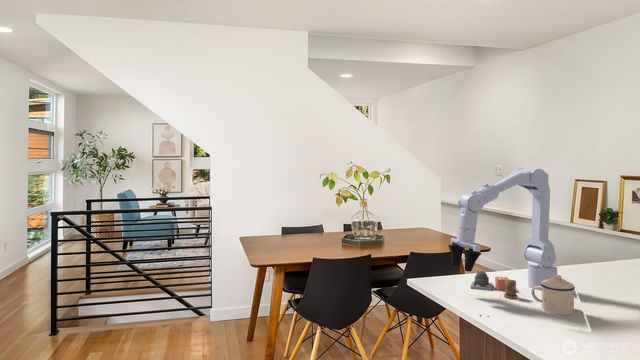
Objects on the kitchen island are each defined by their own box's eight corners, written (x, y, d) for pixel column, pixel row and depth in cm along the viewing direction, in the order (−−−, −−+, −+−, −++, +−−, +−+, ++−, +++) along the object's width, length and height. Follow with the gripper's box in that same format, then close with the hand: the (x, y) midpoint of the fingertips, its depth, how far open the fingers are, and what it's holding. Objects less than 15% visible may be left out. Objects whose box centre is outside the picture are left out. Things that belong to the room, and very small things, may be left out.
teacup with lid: (577, 311, 133) (577, 274, 132) (570, 320, 126) (571, 281, 126) (535, 303, 141) (535, 268, 140) (527, 311, 134) (527, 274, 134)
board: (521, 290, 155) (521, 285, 155) (520, 306, 139) (520, 300, 139) (468, 285, 163) (468, 280, 163) (462, 299, 147) (462, 294, 147)
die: (507, 287, 156) (507, 276, 156) (509, 291, 152) (509, 279, 152) (495, 287, 157) (495, 275, 156) (497, 290, 153) (497, 278, 153)
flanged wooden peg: (517, 296, 146) (517, 279, 146) (517, 299, 142) (517, 283, 142) (504, 294, 148) (504, 278, 148) (503, 298, 144) (503, 281, 144)
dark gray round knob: (489, 282, 158) (489, 270, 158) (488, 286, 154) (488, 273, 154) (475, 281, 161) (475, 269, 160) (474, 284, 156) (473, 272, 156)
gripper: (445, 224, 153) (440, 262, 153) (469, 231, 139) (463, 272, 139) (462, 226, 155) (457, 264, 155) (488, 233, 141) (482, 274, 141)
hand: (461, 268), depth 147 cm, fingers open, 7 cm apart
